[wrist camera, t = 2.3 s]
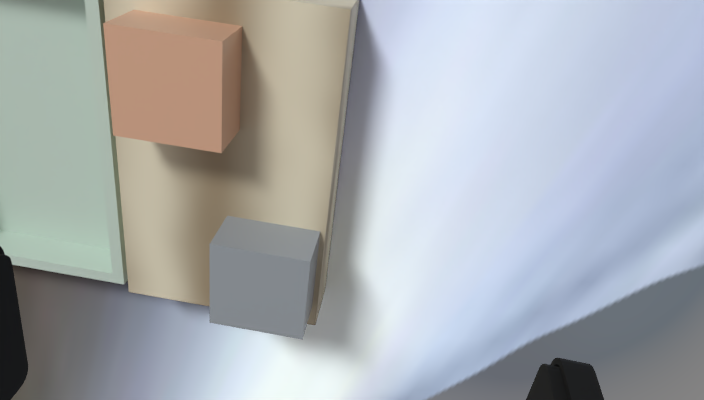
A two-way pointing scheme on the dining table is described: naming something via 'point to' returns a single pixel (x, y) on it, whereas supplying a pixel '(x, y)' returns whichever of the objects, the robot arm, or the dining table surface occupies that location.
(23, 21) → the box
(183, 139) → the terracotta tile
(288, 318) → the slate tile
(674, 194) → the dining table surface
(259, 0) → the birch platform
